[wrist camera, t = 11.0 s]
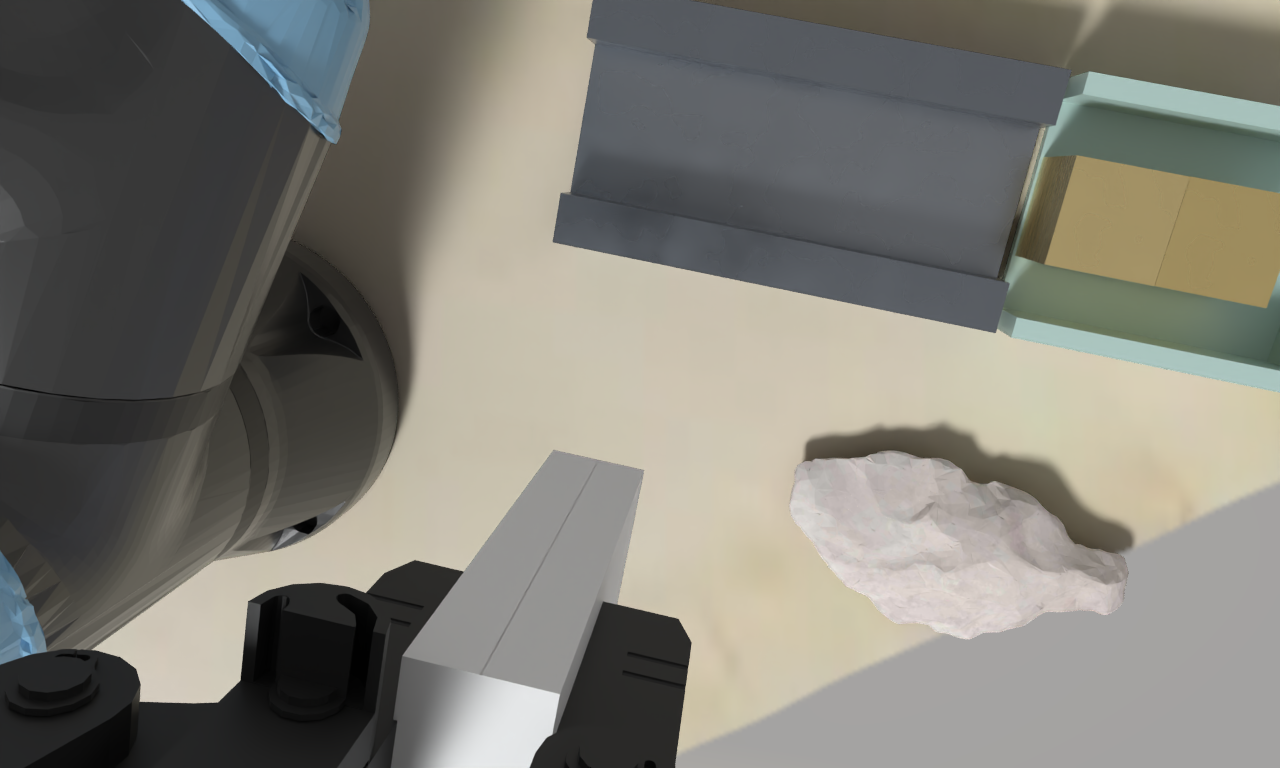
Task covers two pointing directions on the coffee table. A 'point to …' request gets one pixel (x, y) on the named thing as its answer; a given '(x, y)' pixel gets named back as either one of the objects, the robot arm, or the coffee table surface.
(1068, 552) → the stone tool
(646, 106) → the slot board
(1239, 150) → the tray
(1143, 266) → the chip
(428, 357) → the coffee table surface
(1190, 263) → the chip
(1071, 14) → the coffee table surface
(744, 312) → the coffee table surface
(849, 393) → the coffee table surface
